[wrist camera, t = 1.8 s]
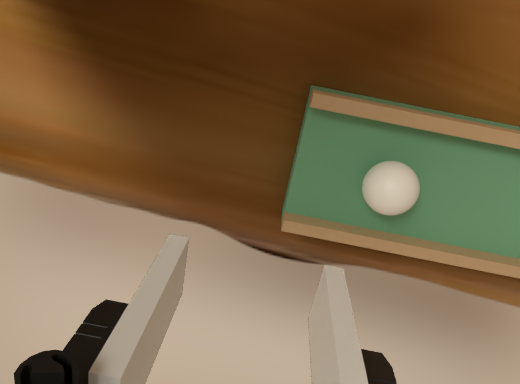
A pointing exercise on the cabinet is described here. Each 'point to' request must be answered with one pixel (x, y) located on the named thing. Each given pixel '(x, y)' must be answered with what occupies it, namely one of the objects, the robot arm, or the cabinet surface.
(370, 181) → the ball
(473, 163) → the putting strip
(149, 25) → the cabinet surface
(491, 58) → the cabinet surface
